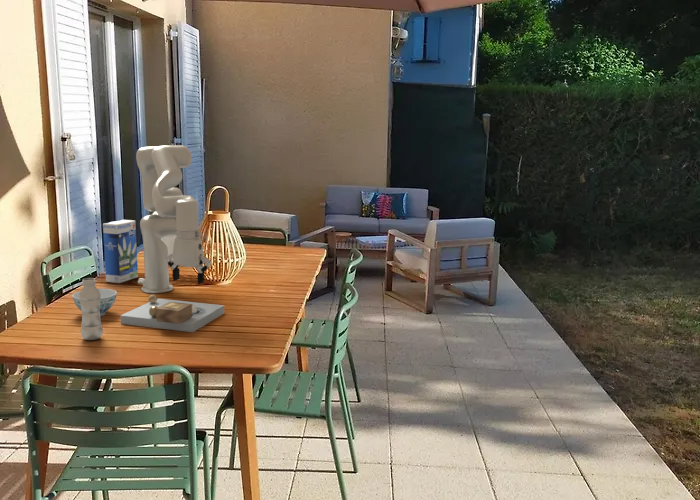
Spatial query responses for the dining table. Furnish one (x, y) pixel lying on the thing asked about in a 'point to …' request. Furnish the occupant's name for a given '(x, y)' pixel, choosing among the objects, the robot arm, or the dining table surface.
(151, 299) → the ball
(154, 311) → the bronze ball
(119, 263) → the string lights box
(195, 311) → the steel boule
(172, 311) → the walnut cover
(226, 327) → the dining table surface
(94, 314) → the plastic bottle
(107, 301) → the chinaware
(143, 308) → the hole board
